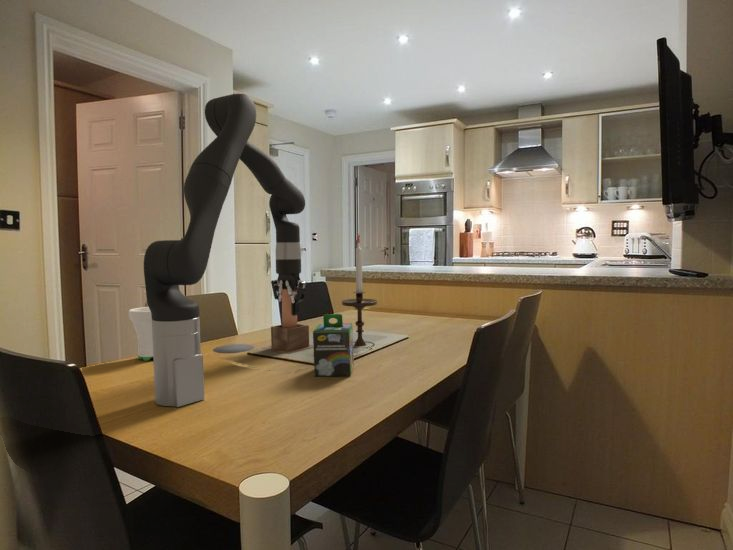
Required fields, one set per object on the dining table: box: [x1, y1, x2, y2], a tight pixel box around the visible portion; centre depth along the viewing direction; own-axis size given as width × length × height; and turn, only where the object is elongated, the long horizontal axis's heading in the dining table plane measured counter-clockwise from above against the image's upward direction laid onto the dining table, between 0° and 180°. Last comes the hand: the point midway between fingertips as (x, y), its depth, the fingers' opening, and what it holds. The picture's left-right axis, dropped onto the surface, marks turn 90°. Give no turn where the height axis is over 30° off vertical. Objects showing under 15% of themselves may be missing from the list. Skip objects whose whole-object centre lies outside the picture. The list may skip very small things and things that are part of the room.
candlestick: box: [341, 233, 378, 349], centre depth 145 cm, size 11×11×35 cm
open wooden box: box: [261, 323, 313, 355], centre depth 144 cm, size 12×12×7 cm
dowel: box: [281, 289, 298, 329], centre depth 143 cm, size 4×4×15 cm
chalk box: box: [312, 313, 355, 377], centre depth 119 cm, size 9×9×15 cm
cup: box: [128, 306, 153, 362], centre depth 136 cm, size 11×11×14 cm
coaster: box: [212, 343, 255, 354], centre depth 143 cm, size 12×12×1 cm
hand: (289, 314), depth 143 cm, fingers closed on dowel, 4 cm apart
